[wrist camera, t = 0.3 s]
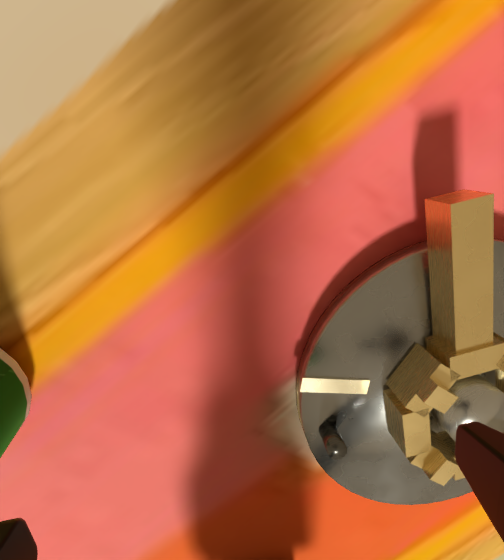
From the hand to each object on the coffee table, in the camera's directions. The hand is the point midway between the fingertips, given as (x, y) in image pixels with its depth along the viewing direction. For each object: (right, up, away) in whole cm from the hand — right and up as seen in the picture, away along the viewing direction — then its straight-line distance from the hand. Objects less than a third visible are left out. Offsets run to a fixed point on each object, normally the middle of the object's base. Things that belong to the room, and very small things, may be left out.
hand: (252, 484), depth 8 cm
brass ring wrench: (+12, +1, +15) cm, 20 cm away
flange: (+13, -3, +18) cm, 23 cm away
